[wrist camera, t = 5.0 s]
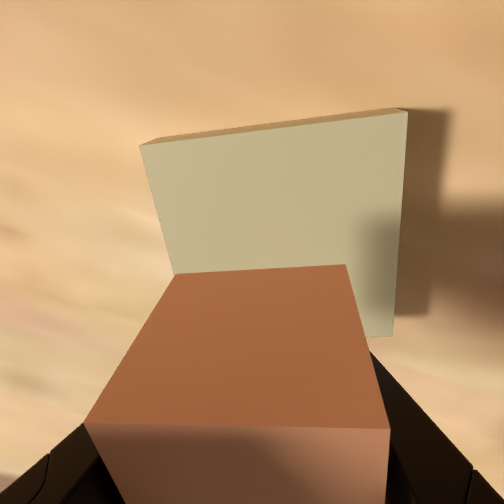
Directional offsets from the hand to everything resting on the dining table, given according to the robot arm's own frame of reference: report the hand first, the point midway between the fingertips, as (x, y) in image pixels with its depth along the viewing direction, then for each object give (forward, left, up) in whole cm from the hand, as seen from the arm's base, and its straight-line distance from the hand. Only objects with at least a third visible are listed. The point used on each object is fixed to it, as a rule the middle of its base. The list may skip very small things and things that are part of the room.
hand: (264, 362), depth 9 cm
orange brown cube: (0, 0, -1) cm, 1 cm away
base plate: (0, 0, -9) cm, 9 cm away
